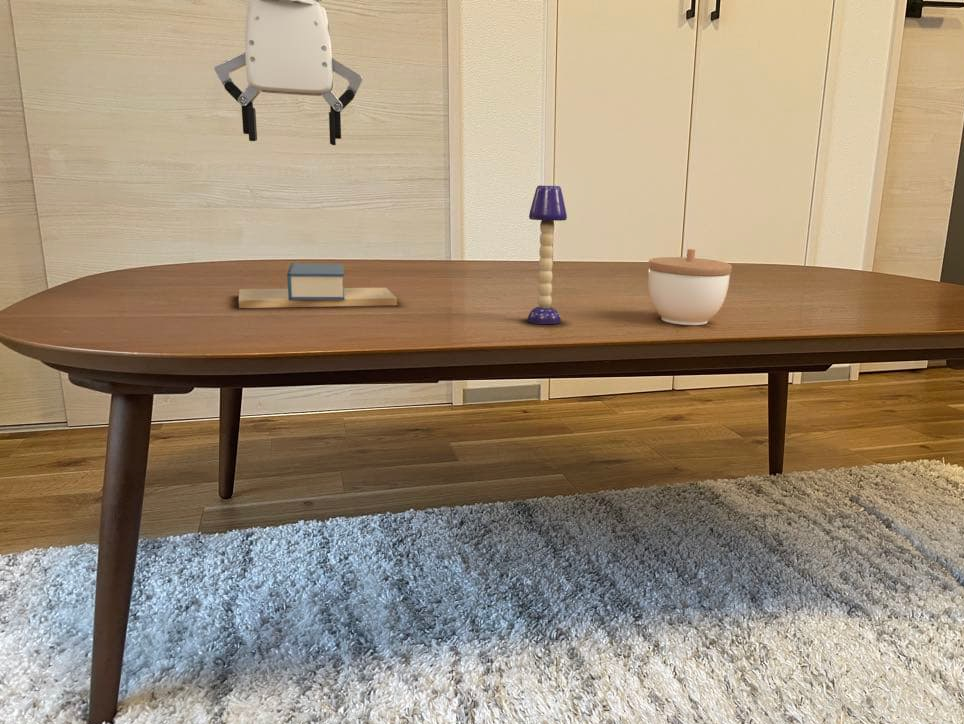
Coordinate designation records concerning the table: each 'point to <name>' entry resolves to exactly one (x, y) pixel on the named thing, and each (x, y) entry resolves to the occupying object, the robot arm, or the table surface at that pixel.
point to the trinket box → (687, 288)
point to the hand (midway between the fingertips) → (293, 142)
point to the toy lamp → (546, 248)
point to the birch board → (280, 299)
